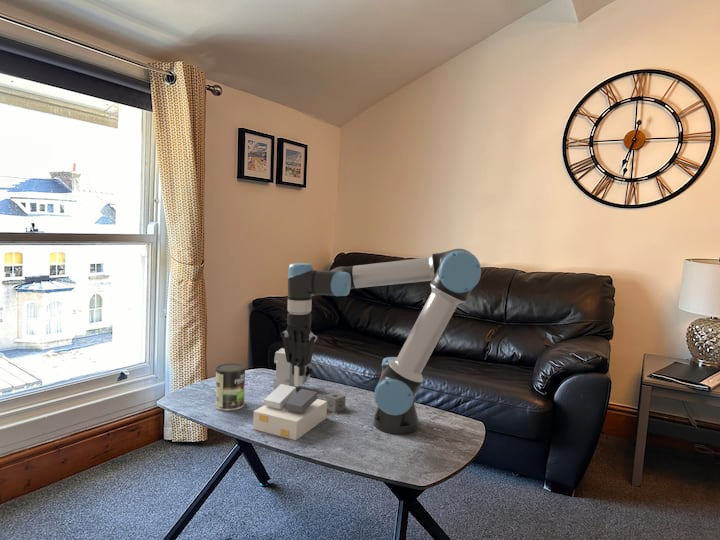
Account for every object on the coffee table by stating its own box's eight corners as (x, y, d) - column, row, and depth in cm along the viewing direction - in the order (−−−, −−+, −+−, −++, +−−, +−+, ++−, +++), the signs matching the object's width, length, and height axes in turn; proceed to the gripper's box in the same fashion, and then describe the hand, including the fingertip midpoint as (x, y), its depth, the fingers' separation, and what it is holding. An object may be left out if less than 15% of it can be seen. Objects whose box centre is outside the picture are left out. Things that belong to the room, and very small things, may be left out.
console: (326, 417, 170) (327, 397, 169) (295, 440, 152) (296, 418, 151) (286, 408, 177) (287, 389, 176) (252, 429, 158) (253, 407, 157)
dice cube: (325, 408, 179) (326, 395, 178) (335, 405, 182) (336, 392, 182) (335, 412, 175) (335, 399, 175) (345, 409, 179) (345, 396, 178)
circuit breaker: (307, 393, 192) (309, 356, 191) (273, 389, 195) (274, 352, 194) (313, 387, 200) (314, 351, 198) (280, 383, 203) (281, 347, 201)
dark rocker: (317, 398, 165) (317, 392, 164) (301, 413, 156) (301, 406, 155) (301, 395, 167) (301, 388, 167) (285, 409, 158) (285, 402, 158)
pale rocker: (296, 393, 168) (295, 387, 167) (280, 409, 159) (279, 403, 159) (281, 390, 170) (280, 383, 170) (264, 405, 162) (264, 399, 161)
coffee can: (249, 402, 180) (251, 365, 179) (234, 412, 171) (235, 373, 169) (225, 398, 183) (226, 361, 182) (208, 408, 174) (209, 369, 172)
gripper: (323, 312, 156) (321, 384, 158) (288, 308, 161) (287, 378, 163) (311, 316, 149) (310, 392, 151) (275, 312, 154) (274, 385, 157)
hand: (298, 384), depth 157 cm, fingers closed
